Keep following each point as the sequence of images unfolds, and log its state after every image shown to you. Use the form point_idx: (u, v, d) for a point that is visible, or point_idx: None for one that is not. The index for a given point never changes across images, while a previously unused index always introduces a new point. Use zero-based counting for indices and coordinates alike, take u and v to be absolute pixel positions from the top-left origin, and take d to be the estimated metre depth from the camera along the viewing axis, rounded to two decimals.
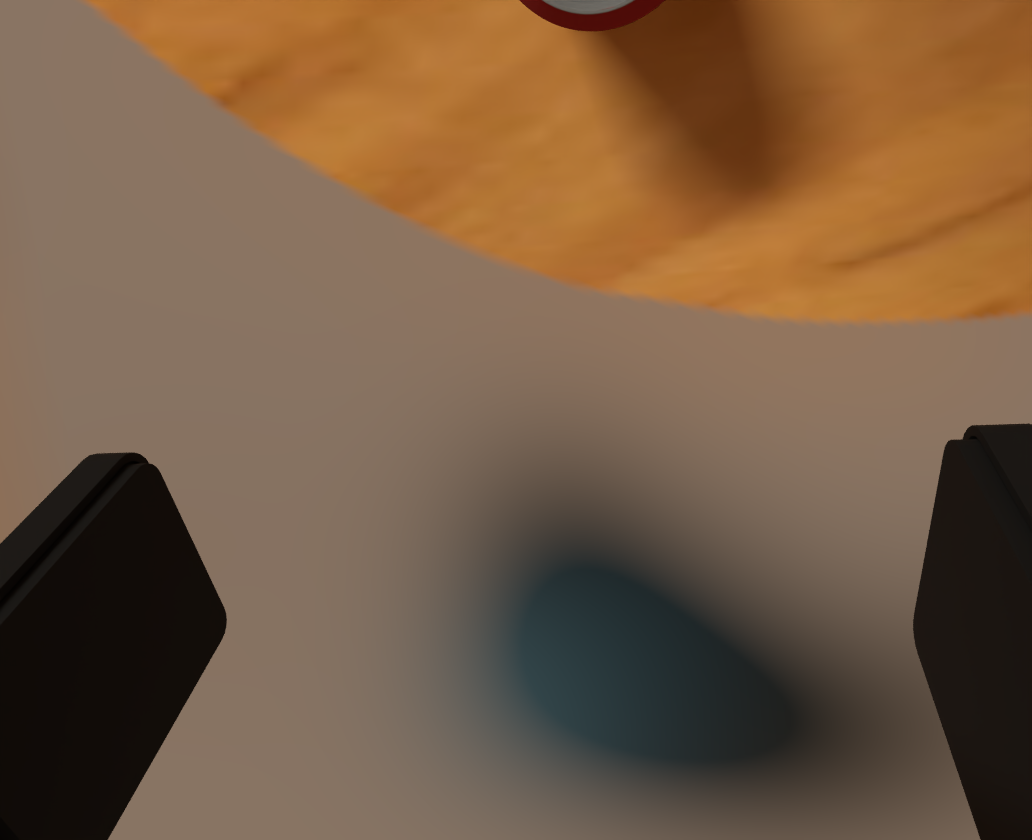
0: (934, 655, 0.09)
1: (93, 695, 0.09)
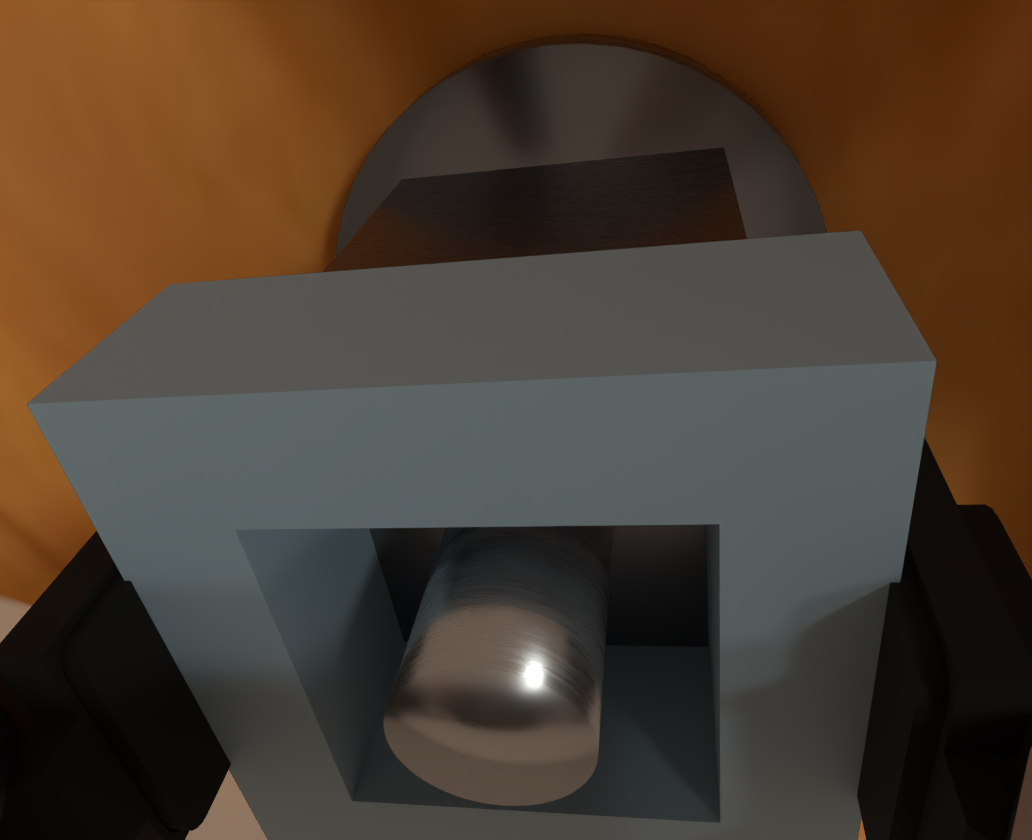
0: None
1: None
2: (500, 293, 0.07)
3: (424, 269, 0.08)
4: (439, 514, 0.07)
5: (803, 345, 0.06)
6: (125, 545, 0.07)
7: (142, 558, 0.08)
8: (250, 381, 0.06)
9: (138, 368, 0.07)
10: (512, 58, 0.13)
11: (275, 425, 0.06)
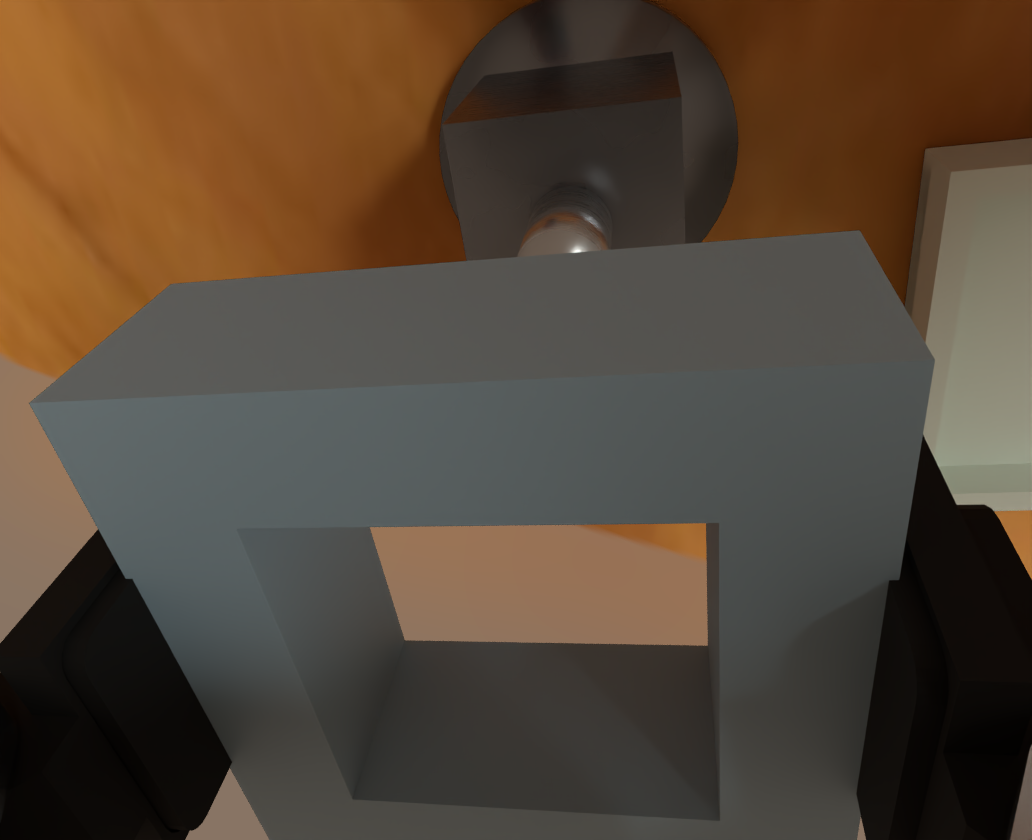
0: None
1: None
2: (500, 292, 0.07)
3: (425, 269, 0.08)
4: (440, 513, 0.07)
5: (804, 345, 0.06)
6: (125, 543, 0.08)
7: (143, 555, 0.08)
8: (252, 380, 0.06)
9: (140, 367, 0.07)
10: (551, 0, 0.22)
11: (276, 424, 0.06)
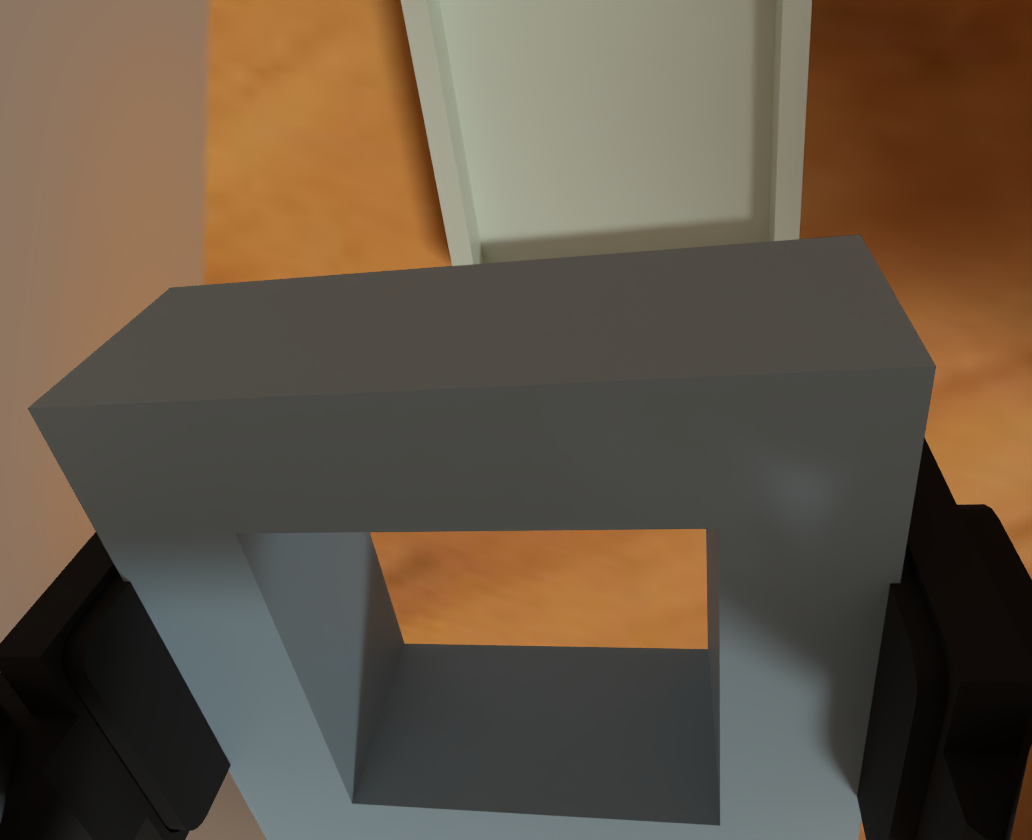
0: None
1: None
2: (500, 297, 0.07)
3: (424, 273, 0.08)
4: (439, 518, 0.07)
5: (803, 351, 0.06)
6: (125, 549, 0.07)
7: (143, 560, 0.08)
8: (250, 385, 0.06)
9: (139, 372, 0.07)
10: None
11: (276, 429, 0.06)
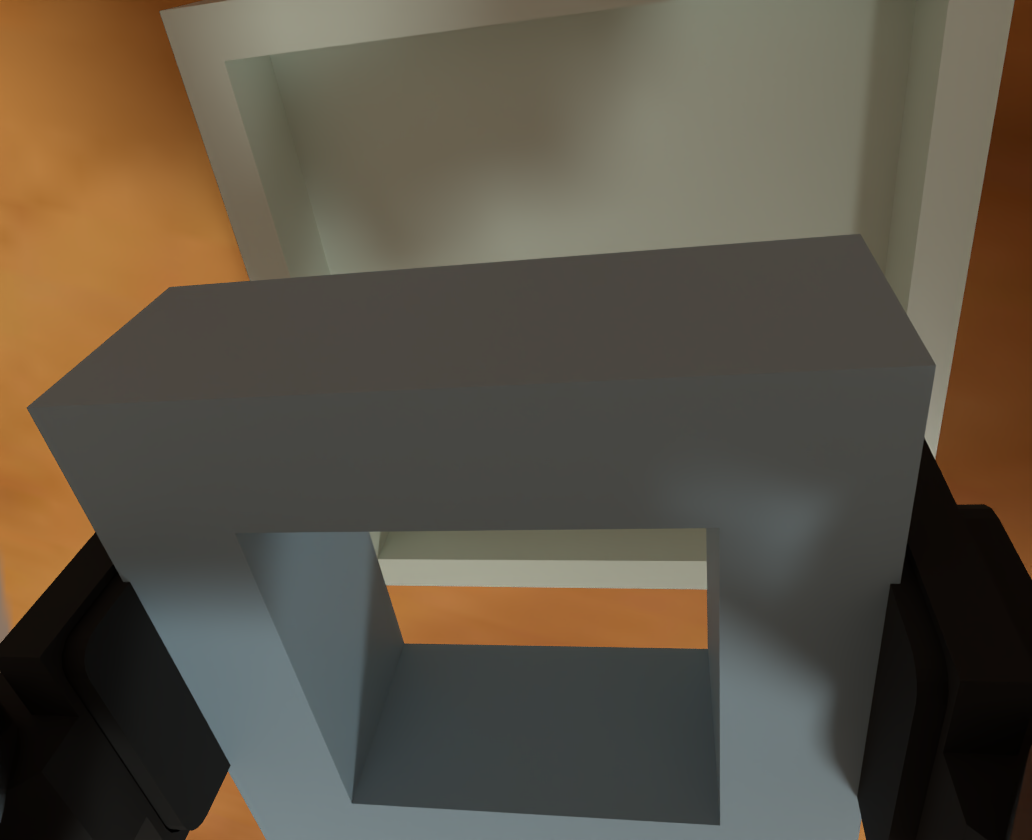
0: None
1: None
2: (500, 296, 0.07)
3: (424, 272, 0.08)
4: (439, 518, 0.07)
5: (803, 349, 0.06)
6: (124, 549, 0.07)
7: (142, 561, 0.08)
8: (250, 385, 0.06)
9: (138, 372, 0.07)
10: None
11: (275, 429, 0.06)
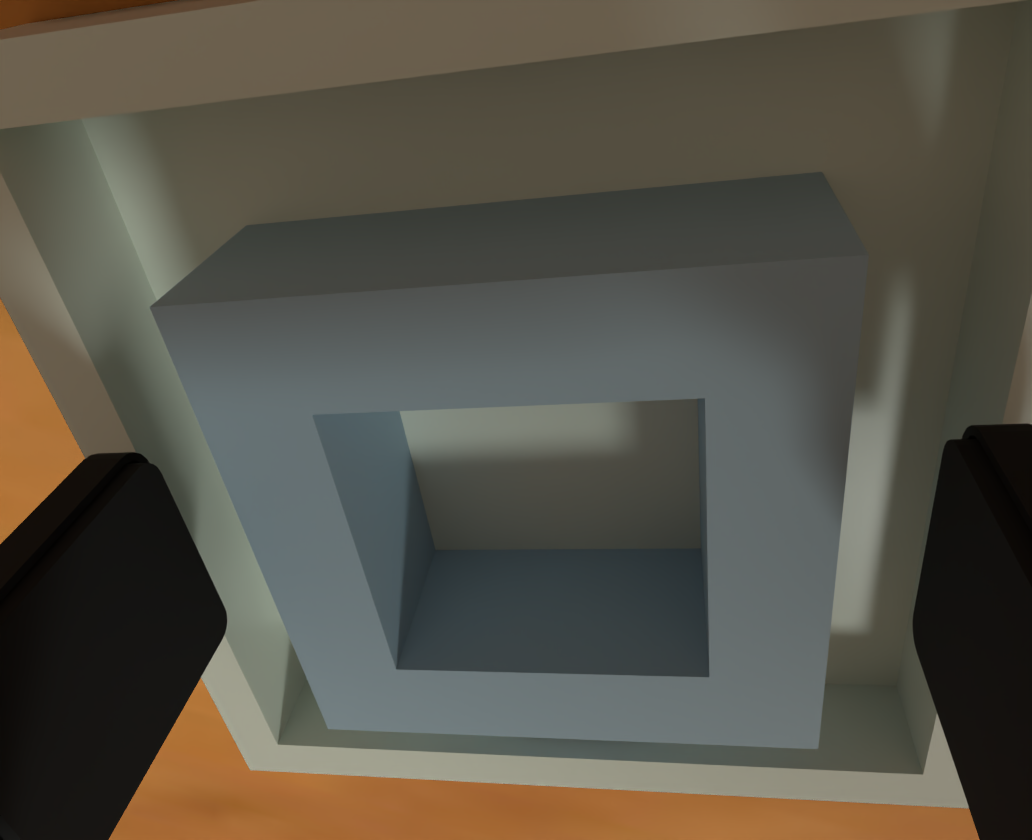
0: (933, 655, 0.09)
1: (94, 694, 0.09)
2: (527, 222, 0.09)
3: (462, 208, 0.10)
4: (480, 396, 0.08)
5: (769, 249, 0.07)
6: (219, 431, 0.09)
7: (233, 441, 0.09)
8: (330, 286, 0.08)
9: (235, 281, 0.09)
10: None
11: (351, 320, 0.08)
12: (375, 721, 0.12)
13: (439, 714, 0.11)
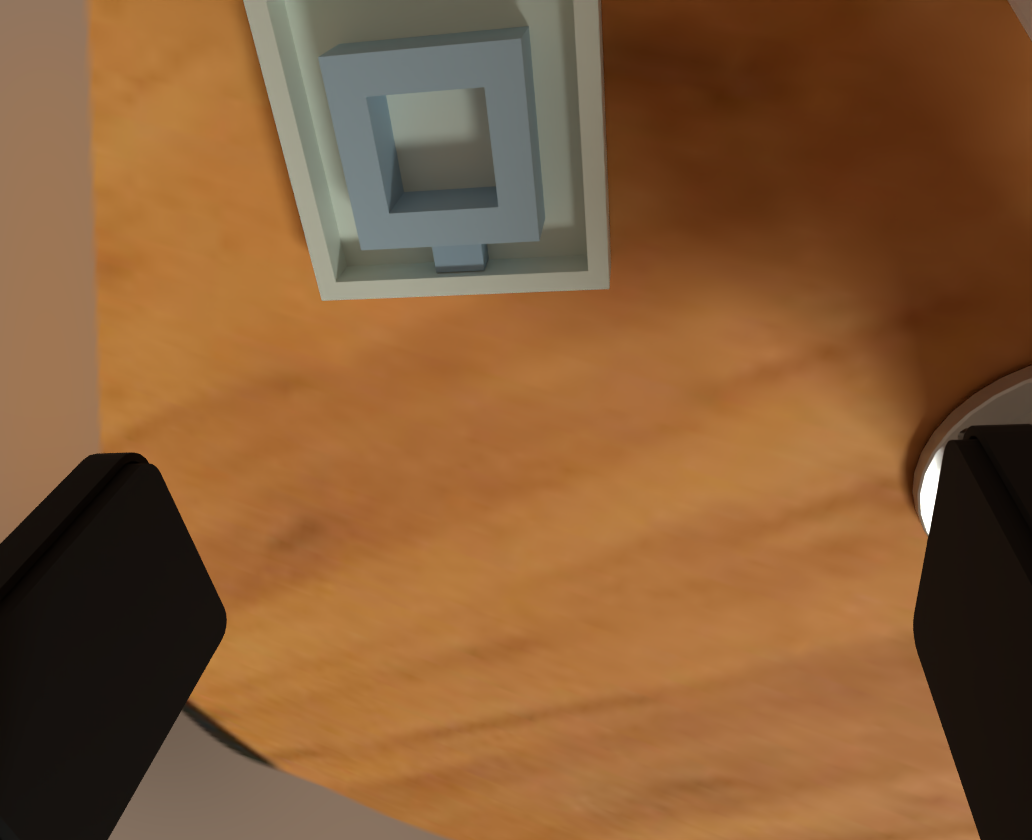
0: (934, 655, 0.09)
1: (93, 695, 0.09)
2: (434, 38, 0.28)
3: (415, 37, 0.29)
4: (418, 88, 0.28)
5: (498, 38, 0.27)
6: (334, 104, 0.28)
7: (338, 109, 0.28)
8: (374, 51, 0.27)
9: (343, 52, 0.28)
10: None
11: (380, 61, 0.27)
12: (380, 244, 0.31)
13: (404, 236, 0.31)
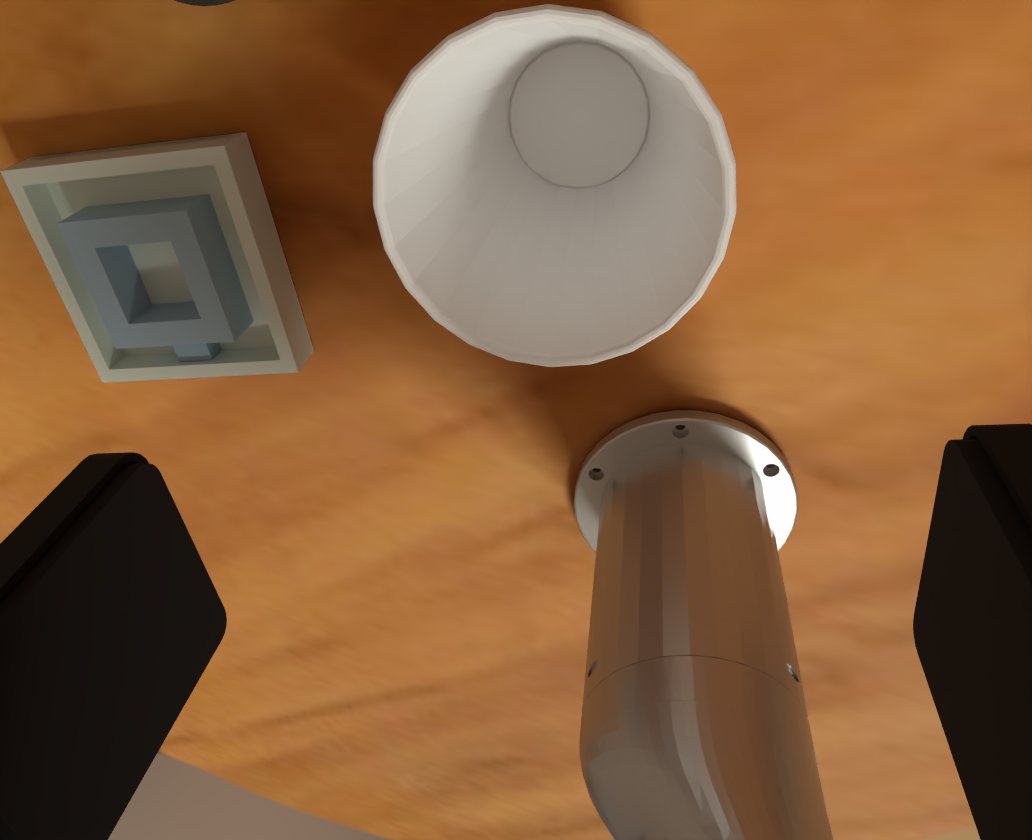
0: (934, 655, 0.09)
1: (93, 695, 0.09)
2: (142, 205, 0.40)
3: (134, 202, 0.41)
4: (127, 242, 0.39)
5: (174, 209, 0.38)
6: (75, 253, 0.40)
7: (78, 255, 0.40)
8: (94, 218, 0.39)
9: (77, 218, 0.40)
10: None
11: (98, 225, 0.39)
12: (127, 344, 0.43)
13: (142, 339, 0.42)
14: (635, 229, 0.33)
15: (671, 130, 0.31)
